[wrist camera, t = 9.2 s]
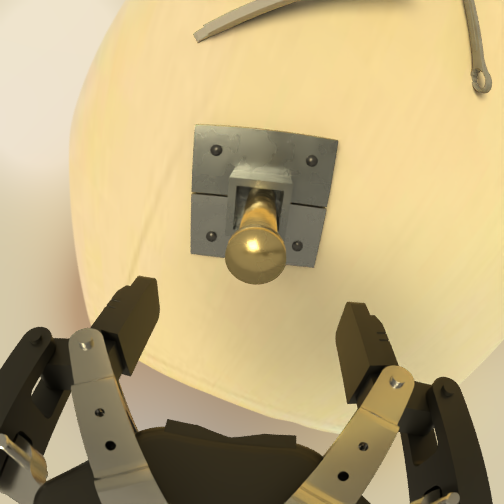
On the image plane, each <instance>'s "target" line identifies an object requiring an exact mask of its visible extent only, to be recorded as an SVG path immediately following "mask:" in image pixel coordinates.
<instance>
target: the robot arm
mask: <svg viewBox="0 0 504 504" xmlns="http://www.w3.org/2000/svg"><path fill="white" fill-rule="evenodd" d="M159 313H160V305H159V297H158V287H157V281H156V279H155V278H150V277H143V276H138V277H137V278H136V279H135V281H134V282H133V283H132V285H131V286H127V285H126V286H125V287H123V288H121V289H120V290H118V291H117V292H116V293H115V295H114V296H113V297H112V299H111V300H110V301H109V303H108V304H107V307H105V308H104V310H103V311H102V312H101V314H100V315H99V316H98V318H97V319H96V321H95V322H94V323H93V325H92V326H91V328H85V329H81V330H78V331H77V332H75V333H74V334H73V335H72V336H71V337H70V339H63V338H62V339H61V338H59V339H58V338H53V337H52V335H51V332H50V331H49V330H48V329H47V328H44V327H36V328H33V329H31V330H29V331H28V332H27V333H26V334H25V335H24V336H23V337H22V339H21V340H20V342H19V343H18V344H17V346H16V347H15V349H14V350H13V351H12V353H11V354H10V356H9V357H8V359H7V360H6V362H5V363H4V365H3V366H2V368H1V369H0V492H1V493H3V494H6V495H8V496H9V497H10V498H12V499H13V500H15V501H16V502H18V503H19V504H370V503H369V502H368V501H367V500H366V499H365V498H364V497H363V496H362V494H363V492H364V491H365V489H366V488H367V486H368V485H369V483H370V481H371V480H372V478H373V477H374V475H375V473H376V472H377V470H378V468H379V466H380V465H381V463H382V461H383V459H384V458H385V456H386V454H387V452H388V450H389V448H390V447H391V445H392V443H393V441H394V439H395V437H396V434H397V433H398V432H400V434H401V439H402V445H403V451H404V457H405V464H406V472H407V479H408V488H409V498H410V504H493V503H492V497H491V491H490V486H489V481H488V477H487V472H486V468H485V464H484V460H483V456H482V452H481V449H480V445H479V442H478V439H477V435H476V432H475V429H474V426H473V423H472V420H471V417H470V414H469V411H468V408H467V405H466V403H465V400H464V397H463V395H462V392H461V389H460V387H459V386H458V384H457V383H456V382H455V381H453V380H452V379H450V378H447V377H440V378H437V379H436V380H435V381H434V383H433V384H432V385H429V384H424V383H420V382H416V381H414V378H413V376H412V375H411V373H410V372H409V371H407V370H406V369H405V368H403V367H400V366H399V365H398V363H397V360H396V357H395V355H394V352H393V349H392V347H391V344H390V342H389V341H388V340H389V339H388V337H387V334H386V332H385V329H384V327H383V324H382V323H381V322H380V321H379V320H378V319H377V317H376V316H375V315H370V314H369V311H368V309H367V306H366V304H365V303H357V302H347V303H346V305H345V308H344V311H343V314H342V317H341V319H340V322H339V325H338V328H337V331H336V346H337V351H338V356H339V361H340V366H341V371H342V377H343V382H344V388H345V393H346V399H347V404H357V407H358V409H357V411H356V412H355V413H354V415H353V416H352V418H351V419H350V421H349V422H348V424H347V425H346V427H345V428H344V429H343V431H342V432H341V434H340V435H339V436H338V438H337V439H336V440H335V442H334V443H333V444H332V446H331V447H330V448H329V449H328V451H327V452H326V453H325V454H324V456H321V455H320V454H319V453H317V452H315V451H314V450H312V449H310V448H308V447H305V446H303V445H300V444H296V436H292V435H272V434H261V435H252V436H244V437H233V438H231V437H227V436H223V435H221V434H219V433H216V432H213V431H211V430H208V429H206V428H203V427H201V426H198V425H193V424H188V423H183V422H178V421H174V420H169V419H167V423H166V426H165V427H155V428H149V429H145V430H142V431H138V429H137V427H136V425H135V423H134V420H133V418H132V416H131V413H130V411H129V408H128V405H127V402H126V400H125V397H124V394H123V391H122V388H121V386H120V383H119V378H120V376H121V374H124V375H128V376H131V375H132V373H133V371H134V369H135V366H136V364H137V362H138V360H139V358H140V356H141V354H142V352H143V350H144V348H145V345H146V343H147V341H148V339H149V337H150V335H151V333H152V331H153V329H154V327H155V325H156V323H157V321H158V318H159ZM39 377H41V380H40V381H39V383H38V385H37V387H36V388H35V391H34V392H33V394H32V396H31V393H32V389H33V388H34V386H35V384H36V382H37V380H38V378H39ZM71 392H72V397H73V402H74V407H75V411H76V416H77V420H78V424H79V428H80V432H81V436H82V439H83V443H84V447H85V450H86V453H87V456H88V461H86V462H84V463H82V464H80V465H79V466H76V467H75V468H72V469H71V470H69V471H67V472H64V473H62V474H60V475H58V476H56V477H54V478H52V479H50V480H48V481H46V478H47V476H48V472H47V465H46V461H45V459H44V457H43V455H44V453H45V450H46V447H47V445H48V442H49V440H50V438H51V435H52V433H53V431H54V428H55V426H56V424H57V421H58V419H59V417H60V415H61V412H62V410H63V408H64V406H65V404H66V402H67V399H68V397H69V395H70V393H71ZM434 428H435V432H436V436H437V440H438V445H437V441H436V437H435V433H434Z"/></svg>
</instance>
